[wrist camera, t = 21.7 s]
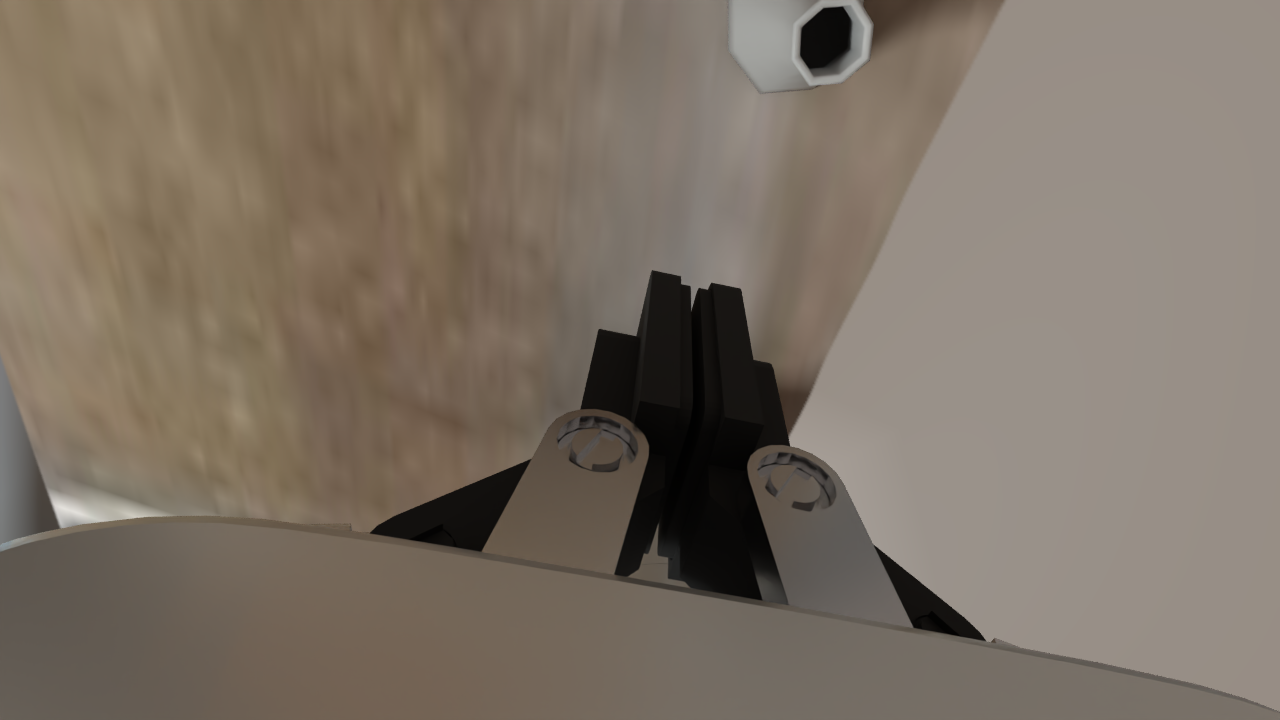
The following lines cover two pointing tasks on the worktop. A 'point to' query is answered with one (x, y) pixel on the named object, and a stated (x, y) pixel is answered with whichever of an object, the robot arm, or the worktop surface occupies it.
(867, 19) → the flask
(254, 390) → the worktop surface
